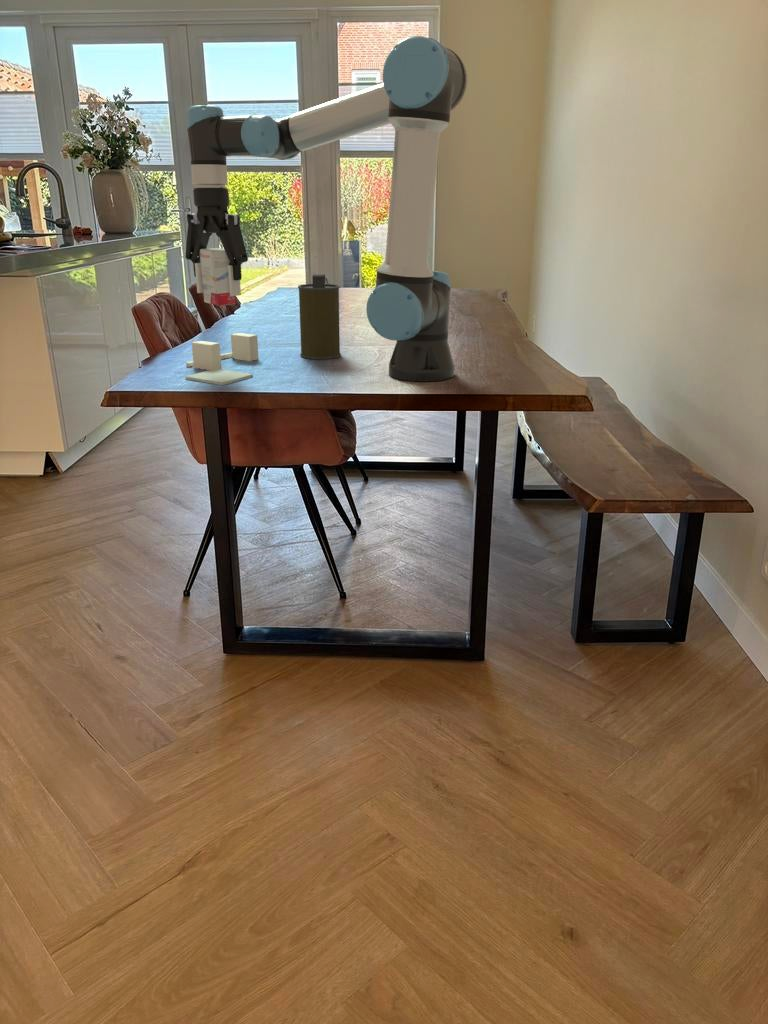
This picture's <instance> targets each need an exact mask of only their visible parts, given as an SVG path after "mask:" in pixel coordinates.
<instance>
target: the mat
mask: <svg viewBox="0 0 768 1024" xmlns="http://www.w3.org/2000/svg"><path fill="white" fill-rule="evenodd" d="M253 375H254V374H252V373H246V372H241V371H235V370H227V369H213V370H205V371H202V372H197V373H194V374H190V375H185V380H189V381H196V382H201V383H206V384H212V385H219V386H226V385H228V384H232V383H236V382H240V381H243V380H246V379H250V378H253Z"/></svg>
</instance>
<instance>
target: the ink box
mask: <svg viewBox="0 0 768 1024" xmlns="http://www.w3.org/2000/svg"><path fill="white" fill-rule="evenodd" d="M200 263H201V273H202V283H203V293H202V294H203V301H204V303H207V304H211V305H215V306H217V307H218V306H229V305H235V304H238V303H237V296H230V288H229V274H228V265H229V263H230V261H229V258H228V256H227V254H226V252H225V249H224V248H221V247H220V248H219V247H213V248H211V247H210V248H206V249H200Z"/></svg>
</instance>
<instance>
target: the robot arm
mask: <svg viewBox="0 0 768 1024" xmlns="http://www.w3.org/2000/svg"><path fill="white" fill-rule="evenodd" d="M384 61H385V62H384V64H383V69H382V83H379V84H376V85H372V86H371V87H368V88H365V89H361V90H359V91H356V92H353V93H351V94H347V95H345V96H341V97H338V98H336V99H332V100H330V101H327V102H324V103H321V104H319V105H316V106H313V107H309V108H307V109H304V110H302V111H299V112H295V113H293V114H291V115H287V116H284V117H282V118H279V119H273V117H272V116H271V115H266V114H264V115H263V114H256V113H254V114H250V115H233V116H232V115H231V116H228V115H227V116H226V115H224V110H223V109H222V108H221V107H220V106H218V105H217V106H216V105H200V104H199V105H192V106H189V107H188V108H187V111H186V112H187V113H186V115H187V116H186V120H187V123H186V125H187V128H186V132H187V138H188V143H189V144H188V146H189V155H190V167H191V168H190V170H191V171H190V172H191V184H192V185H193V186H195V187H194V188H193V190H192V194H193V204H194V206H195V207H196V208H197V211H196V213H187V214H186V221H187V232H186V233H187V234H186V245H185V255H184V257H185V259H186V260H190V261H191V262H192V263H193V272H194V273H193V275H194V278H195V282H196V293H197V294H204V293H203V283H202V273H201V263H200V249H208V248H207V247H208V243H209V241H210V237H211V236H212V235H213V234H215V235H216V236H217V237H218V238H219V241H220V242H221V244H222V247H223V249H225V252H226V254H227V256H228V258H229V261H230V263H229V265H228V274H229V288H230V296H236V297H237V296H242V290H241V280H242V275H243V274H242V264H244V263H247V262H248V260H249V257H248V253H247V249H246V245H245V241H244V236H243V233H242V230H241V223H240V222H241V217H240V214H237V213H236V214H235V213H233V214H232V213H231V214H230V213H229V210H228V207H229V206H230V193H229V189H228V188H227V187H226V186H227V185H228V183H229V182H228V170H227V169H228V168H227V167H228V166H227V157H256V158H269V159H277V160H281V161H283V160H284V161H286V160H291V159H293V158H295V157H297V156H298V155H299V154H300V153H303V152H304V151H308V150H311V149H314V148H318V147H320V146H323V145H327V144H330V143H333V142H337V141H339V140H343V139H345V138H350V137H352V136H355V135H358V134H361V133H364V132H368V131H372V130H374V129H377V128H380V127H383V126H384V127H385V126H387V125H390V124H391V126H392V127H393V128H394V143H393V156H392V169H391V180H390V181H391V182H390V194H389V206H388V208H389V210H388V220H387V221H388V222H387V234H386V247H385V257H384V259H385V260H384V262H383V263H382V264H380V266H379V267H377V269H376V278H375V288H374V289H373V290H372V291H371V293H370V294H369V296H368V298H367V300H366V317H367V320H368V322H369V325H370V326H371V327H372V329H373V330H374V331H375V332H376V334H378V335H379V336H381V337H382V338H384V339H387V340H390V341H396V342H395V345H394V348H393V351H392V354H391V357H390V361H389V364H388V375H389V376H390V378H391V377H392V378H394V379H397V380H402V381H409V382H410V381H411V382H412V381H413V382H436V381H437V382H439V381H444V380H448V379H451V378H453V377H454V376H455V364H454V359H453V356H452V353H451V349H450V345H449V323H450V322H449V321H450V319H449V317H450V297H451V290H452V289H451V279H450V278H451V277H450V275H449V274H448V273H447V272H443V271H437V270H435V271H433V270H432V269H431V268H430V267H429V266H428V261H429V252H430V251H429V250H430V240H431V230H432V220H433V219H432V218H433V210H434V200H435V199H434V198H435V197H434V196H435V189H436V181H437V179H436V178H437V170H438V168H437V167H438V158H439V148H440V139H441V134H442V132H443V131H444V130H445V129H446V128H447V127H449V125H450V119H451V112H452V110H455V109H456V107H457V106H458V105H459V104H460V102H461V101H462V100H463V98H464V96H465V93H466V89H467V84H468V77H467V76H468V75H467V71H466V67H465V64H464V62H463V60H462V59H461V58H460V56H459V55H458V54H457V53H456V52H455V51H454V50H452V49H450V48H449V47H446V46H444V45H442V44H441V43H440V42H439V41H438V40H436V39H434V38H432V37H427V36H426V37H425V36H422V35H414V36H413V35H412V36H409V37H405V38H404V39H402V40H400V41H399V42H397V44H395V46H394V47H393V48H391V50H390V51H389V53H388V54H387V57H386V58H385V60H384Z"/></svg>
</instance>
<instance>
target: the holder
mask: <svg viewBox="0 0 768 1024" xmlns="http://www.w3.org/2000/svg"><path fill="white" fill-rule="evenodd" d="M230 341H231V342H230V343H231V351H230V352H226V353H221V343H220V342H213V341H205V340H198V341H193V342H191V348H192V349H191V350H192V360H191V361H188V362H187V361H186V362H185V363H186V368H191V367H190V366H192V367H193V368H194V369H198V368H200V370H204V369H206V370H205V371H209V370H213V369H221V368H222V360H225V359H228V357H229V358H231V359H232V358H234V359H233V360H239V359H240V360H239V361H245V360H246V361H247V362H254V361H257V360H258V361H259V343H258V341H259V340H258V334H251V333H242V332H237V333H233V334H230ZM224 358H225V359H224ZM253 360H254V361H253Z"/></svg>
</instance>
